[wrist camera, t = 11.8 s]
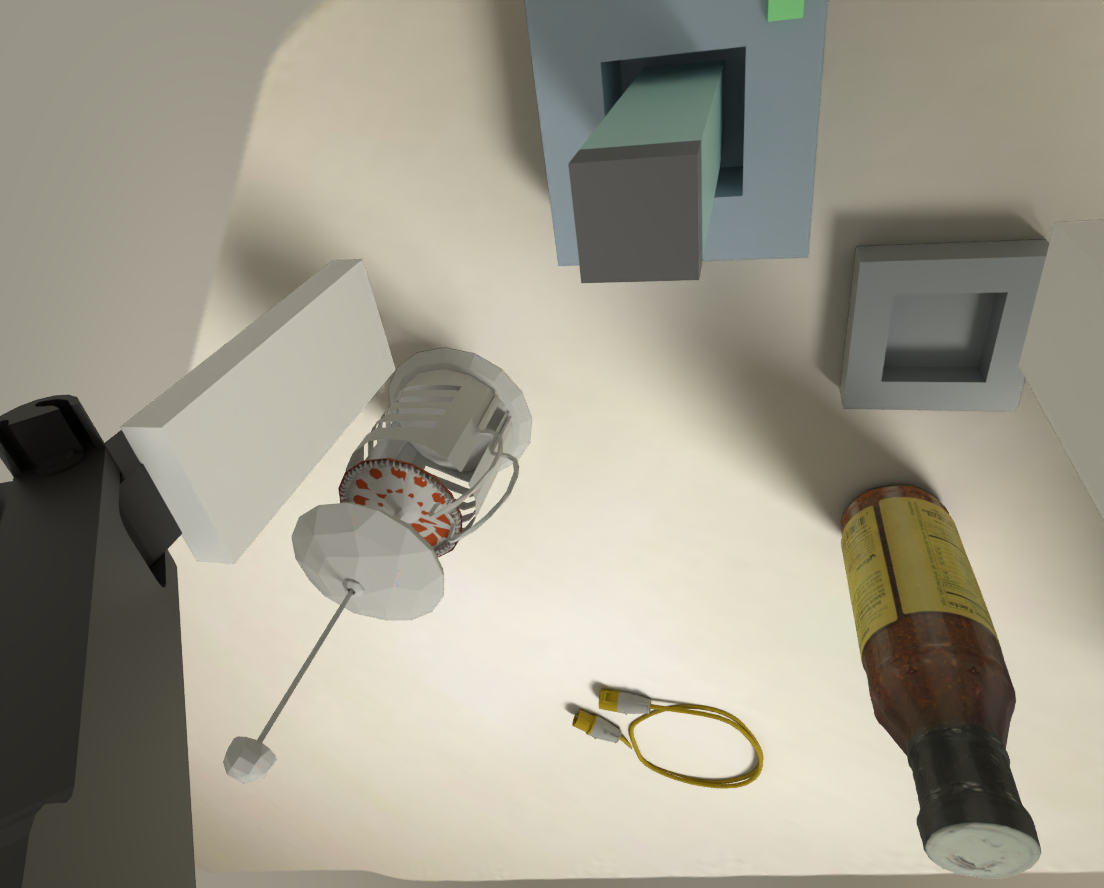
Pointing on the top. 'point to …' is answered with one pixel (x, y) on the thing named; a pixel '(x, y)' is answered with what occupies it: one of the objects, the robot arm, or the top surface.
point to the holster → (940, 325)
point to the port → (749, 103)
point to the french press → (405, 502)
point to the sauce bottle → (937, 678)
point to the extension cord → (640, 705)
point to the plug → (651, 177)
